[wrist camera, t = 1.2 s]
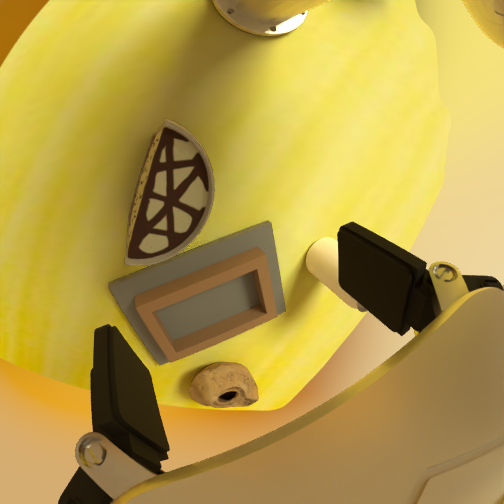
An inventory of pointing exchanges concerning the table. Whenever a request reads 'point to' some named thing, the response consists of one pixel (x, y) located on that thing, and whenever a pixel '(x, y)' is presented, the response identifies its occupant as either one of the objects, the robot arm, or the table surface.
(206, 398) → the oil lamp
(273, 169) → the table surface
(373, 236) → the robot arm
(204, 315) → the tray
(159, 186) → the food container
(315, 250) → the can
